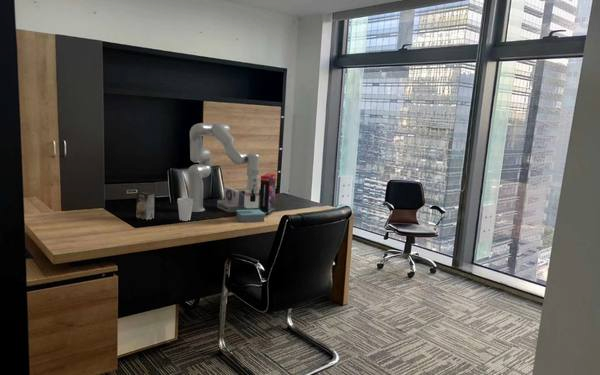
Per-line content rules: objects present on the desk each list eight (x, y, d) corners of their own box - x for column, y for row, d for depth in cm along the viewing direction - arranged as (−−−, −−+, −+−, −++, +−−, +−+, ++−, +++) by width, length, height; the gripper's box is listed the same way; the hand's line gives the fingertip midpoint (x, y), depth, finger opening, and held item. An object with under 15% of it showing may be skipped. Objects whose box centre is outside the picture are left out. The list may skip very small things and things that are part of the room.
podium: (240, 222, 276) (241, 214, 275) (235, 217, 288) (236, 209, 287) (265, 221, 283) (265, 213, 282) (258, 217, 294) (259, 209, 294)
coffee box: (135, 217, 270) (135, 192, 267) (143, 216, 276) (143, 191, 273) (147, 220, 266) (147, 194, 264) (154, 218, 272) (154, 192, 269)
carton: (258, 208, 283) (259, 189, 281) (246, 208, 280) (247, 189, 278) (255, 206, 288) (256, 188, 286) (243, 206, 285) (244, 188, 283)
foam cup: (195, 219, 277) (195, 199, 275) (187, 222, 268) (188, 201, 266) (181, 217, 279) (182, 197, 277) (174, 220, 271) (174, 199, 268)
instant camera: (215, 206, 319) (216, 186, 316) (242, 205, 329) (243, 185, 326) (224, 212, 300) (225, 191, 298) (252, 211, 310) (253, 190, 308)
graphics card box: (268, 216, 298) (270, 176, 294) (258, 215, 300) (260, 175, 295) (274, 211, 315) (276, 174, 311) (265, 210, 316) (267, 173, 312)
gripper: (262, 174, 274) (260, 203, 277) (254, 171, 290) (253, 198, 293) (250, 174, 271) (249, 203, 274) (243, 171, 287) (242, 198, 290)
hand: (251, 200), depth 283 cm, fingers closed on carton, 5 cm apart
